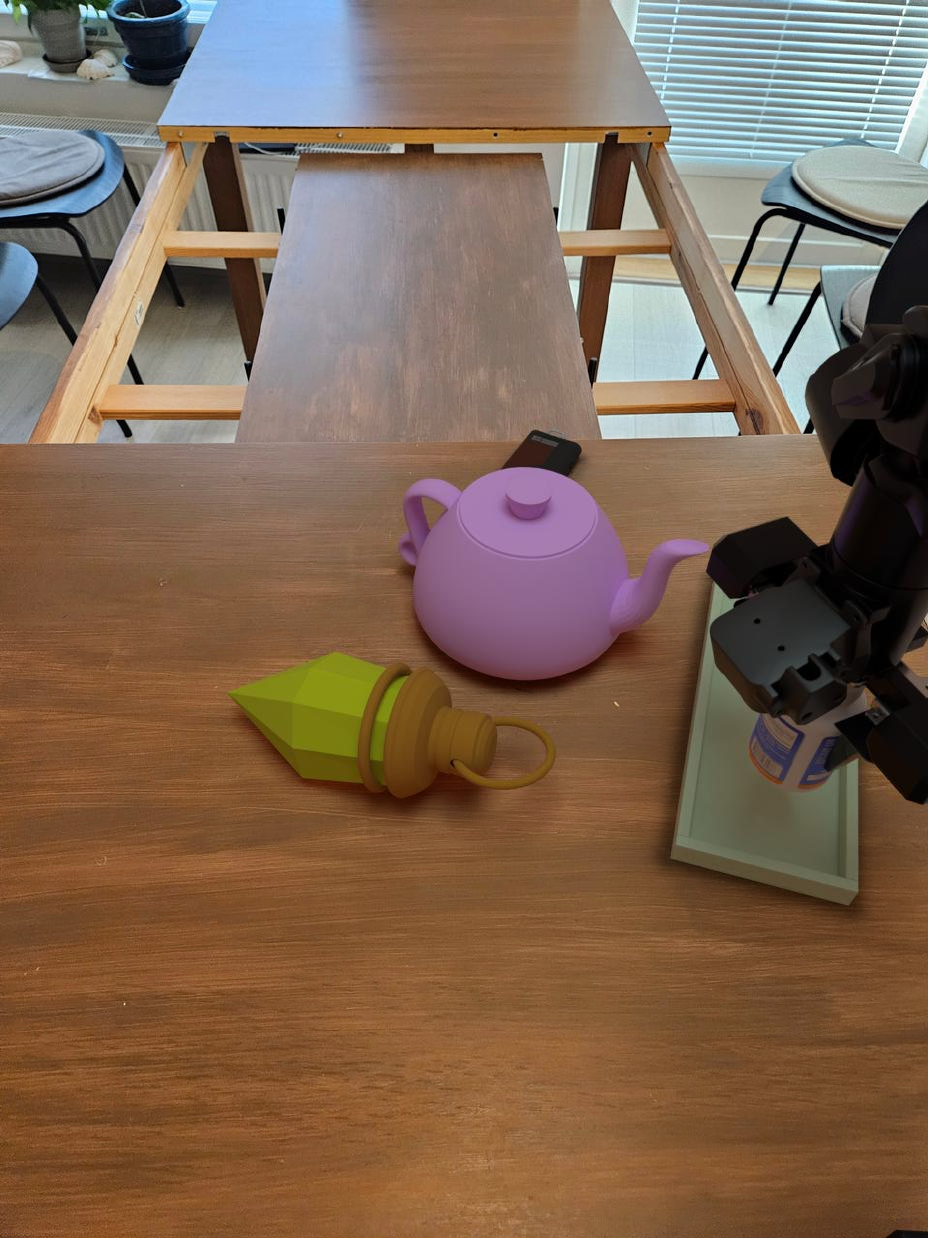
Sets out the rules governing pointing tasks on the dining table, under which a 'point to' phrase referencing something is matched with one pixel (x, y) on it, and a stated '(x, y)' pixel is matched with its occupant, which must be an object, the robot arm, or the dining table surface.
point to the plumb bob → (377, 726)
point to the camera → (545, 452)
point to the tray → (759, 800)
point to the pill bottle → (800, 745)
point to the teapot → (526, 573)
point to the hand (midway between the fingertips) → (801, 732)
